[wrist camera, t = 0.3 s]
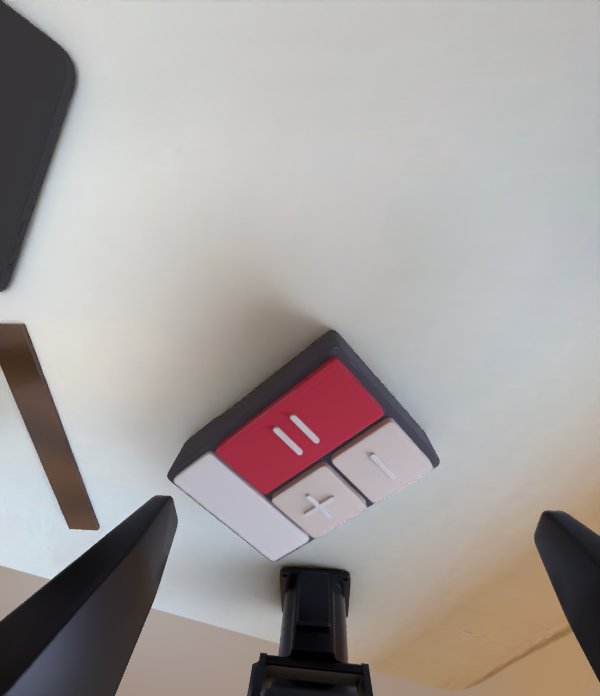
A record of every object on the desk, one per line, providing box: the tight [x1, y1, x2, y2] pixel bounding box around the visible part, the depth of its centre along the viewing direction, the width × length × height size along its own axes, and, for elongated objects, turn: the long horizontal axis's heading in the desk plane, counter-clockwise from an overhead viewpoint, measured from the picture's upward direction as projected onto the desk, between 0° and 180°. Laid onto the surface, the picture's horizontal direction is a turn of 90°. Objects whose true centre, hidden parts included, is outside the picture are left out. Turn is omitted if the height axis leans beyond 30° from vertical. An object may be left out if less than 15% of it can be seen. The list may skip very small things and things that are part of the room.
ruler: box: [0, 324, 99, 530], centre depth 26 cm, size 20×3×1 cm, turn 1°
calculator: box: [167, 331, 440, 562], centre depth 23 cm, size 11×4×15 cm
